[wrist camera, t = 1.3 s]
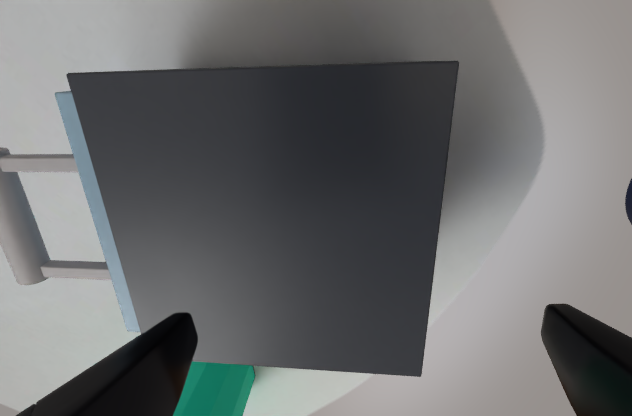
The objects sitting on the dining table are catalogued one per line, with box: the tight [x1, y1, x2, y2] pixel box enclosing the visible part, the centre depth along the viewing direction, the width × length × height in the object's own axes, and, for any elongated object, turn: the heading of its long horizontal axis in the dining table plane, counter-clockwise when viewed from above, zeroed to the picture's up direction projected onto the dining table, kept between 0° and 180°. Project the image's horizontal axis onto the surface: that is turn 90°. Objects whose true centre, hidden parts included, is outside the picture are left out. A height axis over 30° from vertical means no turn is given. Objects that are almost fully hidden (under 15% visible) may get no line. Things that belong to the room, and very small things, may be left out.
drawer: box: [0, 91, 140, 332], centre depth 17 cm, size 16×10×7 cm, turn 92°
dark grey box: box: [67, 61, 459, 377], centre depth 16 cm, size 12×12×9 cm
